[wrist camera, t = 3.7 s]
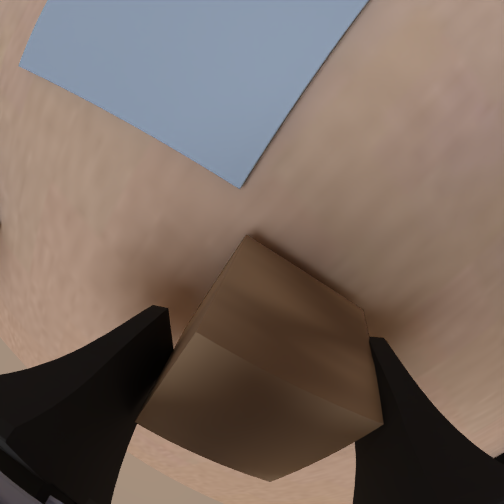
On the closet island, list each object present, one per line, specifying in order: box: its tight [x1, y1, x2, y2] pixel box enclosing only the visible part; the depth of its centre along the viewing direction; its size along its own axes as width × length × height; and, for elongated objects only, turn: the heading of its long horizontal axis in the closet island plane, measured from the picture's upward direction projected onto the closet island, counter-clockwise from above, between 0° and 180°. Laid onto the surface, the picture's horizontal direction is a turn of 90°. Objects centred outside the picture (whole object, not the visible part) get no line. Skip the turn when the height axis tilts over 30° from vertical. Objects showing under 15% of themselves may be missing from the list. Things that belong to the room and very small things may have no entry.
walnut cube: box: [135, 235, 384, 482], centre depth 9 cm, size 5×5×5 cm
